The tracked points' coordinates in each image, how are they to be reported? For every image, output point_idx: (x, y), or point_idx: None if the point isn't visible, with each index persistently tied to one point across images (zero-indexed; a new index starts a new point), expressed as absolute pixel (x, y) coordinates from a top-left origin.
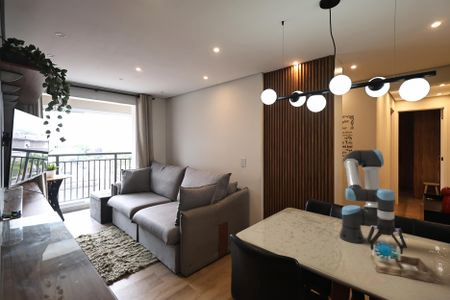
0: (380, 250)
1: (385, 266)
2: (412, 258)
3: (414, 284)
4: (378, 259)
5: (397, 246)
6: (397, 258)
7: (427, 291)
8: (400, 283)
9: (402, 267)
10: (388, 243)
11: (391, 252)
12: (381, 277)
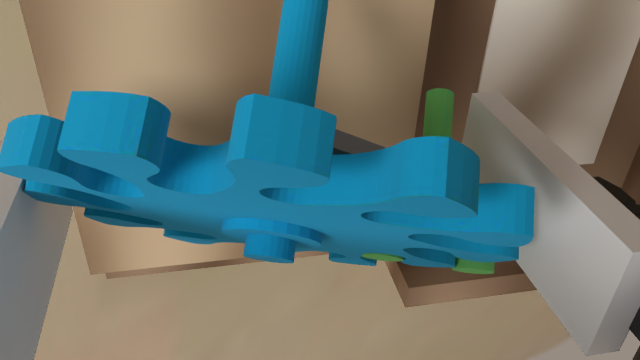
0: (177, 217)
1: (224, 244)
2: None
3: (428, 309)
4: (146, 56)
5: (637, 259)
6: (469, 108)
7: (477, 351)
8: (311, 347)
9: (473, 42)
10: (469, 215)
11: (397, 251)
12: (155, 338)
